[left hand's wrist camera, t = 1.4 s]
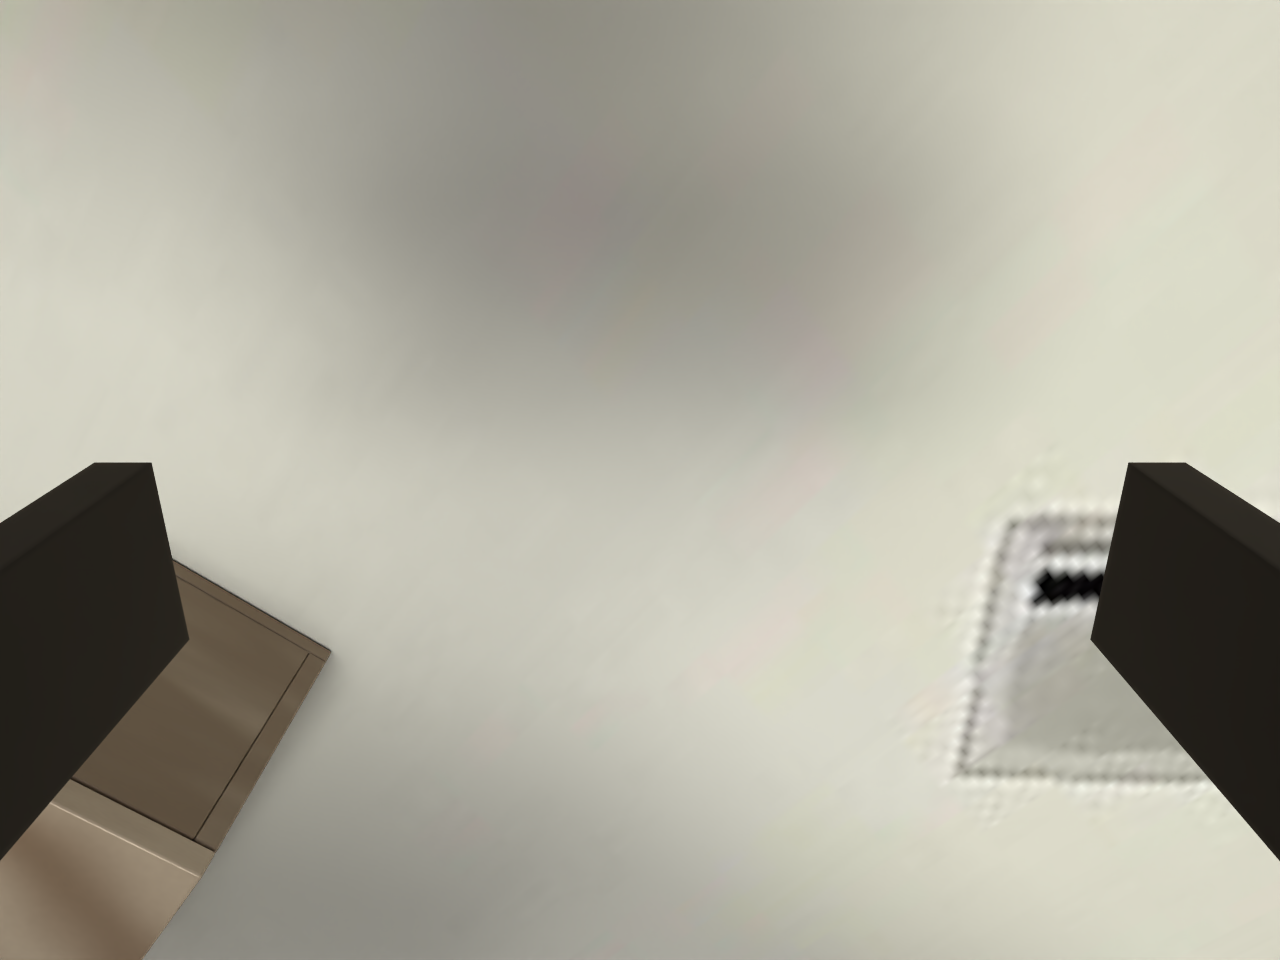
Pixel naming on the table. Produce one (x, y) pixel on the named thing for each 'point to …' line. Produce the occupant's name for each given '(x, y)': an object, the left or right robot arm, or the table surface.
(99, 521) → the left robot arm
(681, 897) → the table surface
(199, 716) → the chest
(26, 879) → the lid
